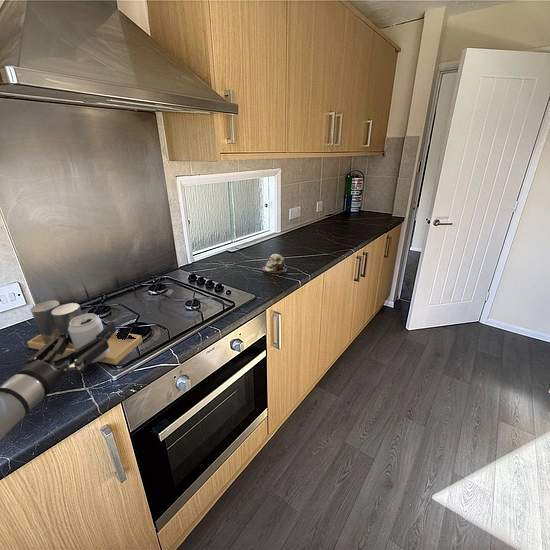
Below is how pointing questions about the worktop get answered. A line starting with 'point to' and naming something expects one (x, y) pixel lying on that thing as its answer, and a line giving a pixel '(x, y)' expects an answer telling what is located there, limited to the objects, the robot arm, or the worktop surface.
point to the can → (86, 331)
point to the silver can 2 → (65, 318)
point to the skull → (275, 264)
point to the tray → (116, 345)
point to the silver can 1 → (46, 319)
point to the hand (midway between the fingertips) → (100, 326)
